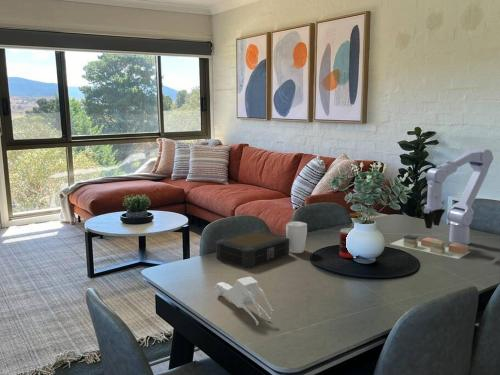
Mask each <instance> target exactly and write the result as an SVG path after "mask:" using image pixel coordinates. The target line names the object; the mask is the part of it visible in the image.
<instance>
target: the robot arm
mask: <svg viewBox="0 0 500 375" xmlns="http://www.w3.org/2000/svg"><path fill="white" fill-rule="evenodd" d="M493 160H494V156H493V152H492V151H491V149H484V148H483V149H482V148H474V147H470V148H468V149H466V150H465V152H464V153H463V154H461V155H459V156H458V157H457V158H456V159H453V160H447V159H446V160H444V162H443V163H442V164H440V165H437V166H436V167H435V168H433V167H432V168H429V169H428V170H427V171H426V174H425V175H424V176H425V179H426V181H427V182H426V184H427V198H426V204H424V205H423V206H424V209H423V210H422V211H421V216H422V217H423V220H424V225H425V228H426V229H432V227H433V226H438V227H439V225H440V223H441V221H442V218H443V215H444V213H445V212H446V210H445V208H444V204H443V203H442V194H443V183H444V182H445V181H446V179H447V178H448V177H449V176H451V175H453V174H454V173H456V172H457V171H458V168H460V167H462V166H463V165H464V166H465V165H466V164H469V166H470V167H471V169H473V172H472V174H471V176H470V178H469V180H468V182H467V184H466V186H465V189H464V191H463V193H462V195H461V197H460V198H459V200H458V202H456V203H454V204H452V206H451V207H450V209H448V211H447V213H446V219H447V221H448V224H449V238H448V242H450V243H451V244H452V243H459V244H464V245H469V244H471V243H472V242H471V241H470V231H471V230H470V225H471V223H472V222H473V216H474V215H475V211H474V209H473V208H472V205H473V204H474V202H475V200H476V198H477V195H478V193H479V191H480V188H481V187H482V185H483V182H484V181H485V179H486V176H487V175H488V173H489V168H490V167H491V165H492V162H493ZM443 208H444V209H443Z"/></svg>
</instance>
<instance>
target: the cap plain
mask: <svg viewBox="0 0 500 375" xmlns="http://www.w3.org/2000/svg"><path fill="white" fill-rule="evenodd" d="M448 247H449V250H448V252H453V253H458V254H464V253H466V252H469V244H459V243H452V242H451V244H448Z"/></svg>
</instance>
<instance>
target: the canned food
mask: <svg viewBox="0 0 500 375" xmlns="http://www.w3.org/2000/svg"><path fill="white" fill-rule="evenodd" d="M352 229H354V228H349V227H345V228H341V229H340V231H339V232H340V233H339V256H340V257H341V258H342V257H343V259H346V258H353V256H352V255H351V254H350V253H349V252H348V250H347V248H346V237H347V235H348V233H349V232H350V231H351V230H352Z"/></svg>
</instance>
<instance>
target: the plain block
mask: <svg viewBox="0 0 500 375" xmlns="http://www.w3.org/2000/svg"><path fill="white" fill-rule="evenodd" d="M445 247H446V241H444V240H441V239H439V240H433V241H431V245H430V252H433V253H438V254H441V253H443V252H445ZM433 253H432V254H433ZM438 254H437V255H438Z"/></svg>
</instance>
